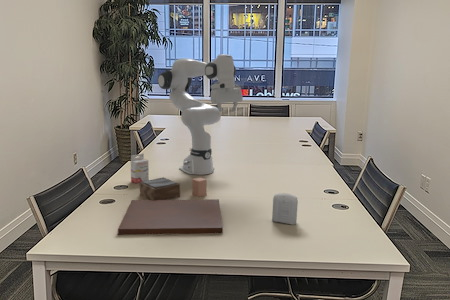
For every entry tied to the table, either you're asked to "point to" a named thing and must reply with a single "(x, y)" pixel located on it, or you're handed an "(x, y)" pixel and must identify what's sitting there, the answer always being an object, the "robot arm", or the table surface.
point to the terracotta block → (199, 187)
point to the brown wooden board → (172, 217)
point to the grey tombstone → (285, 208)
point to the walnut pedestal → (159, 189)
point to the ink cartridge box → (139, 169)
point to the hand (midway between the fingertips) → (227, 111)
